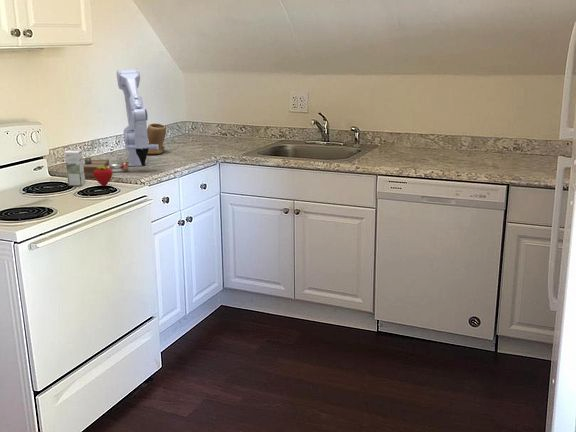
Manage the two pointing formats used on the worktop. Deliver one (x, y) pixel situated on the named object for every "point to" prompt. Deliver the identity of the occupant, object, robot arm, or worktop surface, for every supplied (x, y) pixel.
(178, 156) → the worktop surface
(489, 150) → the worktop surface
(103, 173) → the strawberry
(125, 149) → the robot arm
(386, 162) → the worktop surface
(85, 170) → the mount
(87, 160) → the potentiometer
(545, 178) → the worktop surface
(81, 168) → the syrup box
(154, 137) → the brown boot
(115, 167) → the inner knob
